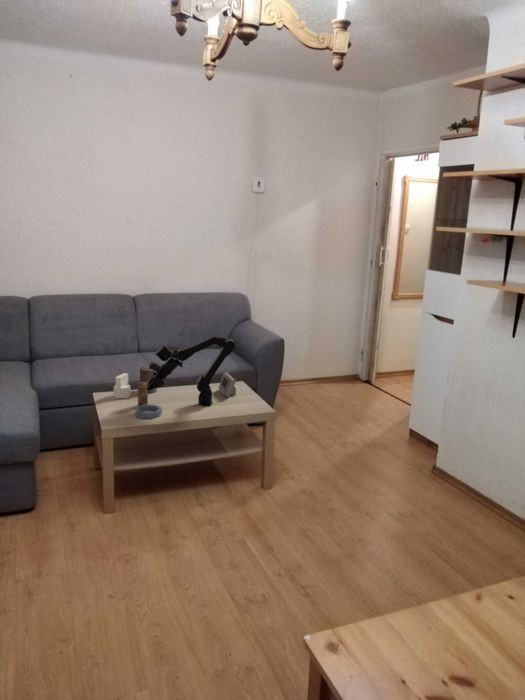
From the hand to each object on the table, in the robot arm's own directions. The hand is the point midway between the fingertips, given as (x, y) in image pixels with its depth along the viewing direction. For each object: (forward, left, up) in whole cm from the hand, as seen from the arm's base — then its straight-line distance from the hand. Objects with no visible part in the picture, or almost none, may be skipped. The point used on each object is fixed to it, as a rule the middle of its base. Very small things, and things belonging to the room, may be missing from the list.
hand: (147, 387), depth 291 cm
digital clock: (-34, -32, -10) cm, 48 cm away
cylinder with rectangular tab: (+20, -10, -10) cm, 24 cm away
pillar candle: (+10, -23, -10) cm, 27 cm away
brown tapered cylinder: (+3, +1, -10) cm, 10 cm away
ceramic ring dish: (-5, +12, -10) cm, 17 cm away
